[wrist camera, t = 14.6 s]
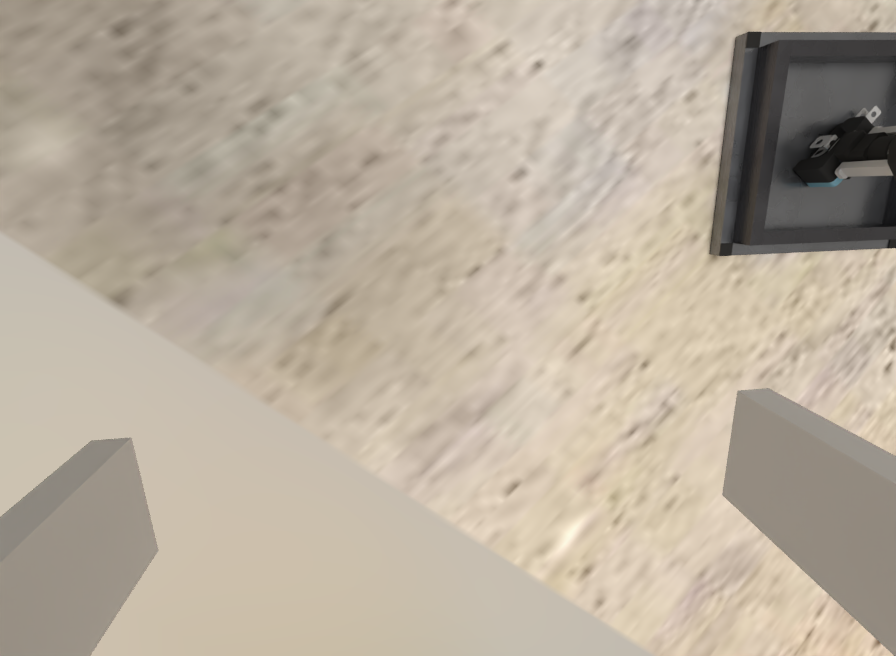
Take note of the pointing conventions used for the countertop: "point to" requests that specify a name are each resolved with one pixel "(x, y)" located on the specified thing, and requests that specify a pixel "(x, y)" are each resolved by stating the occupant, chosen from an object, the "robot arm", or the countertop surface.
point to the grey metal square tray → (802, 143)
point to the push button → (851, 152)
